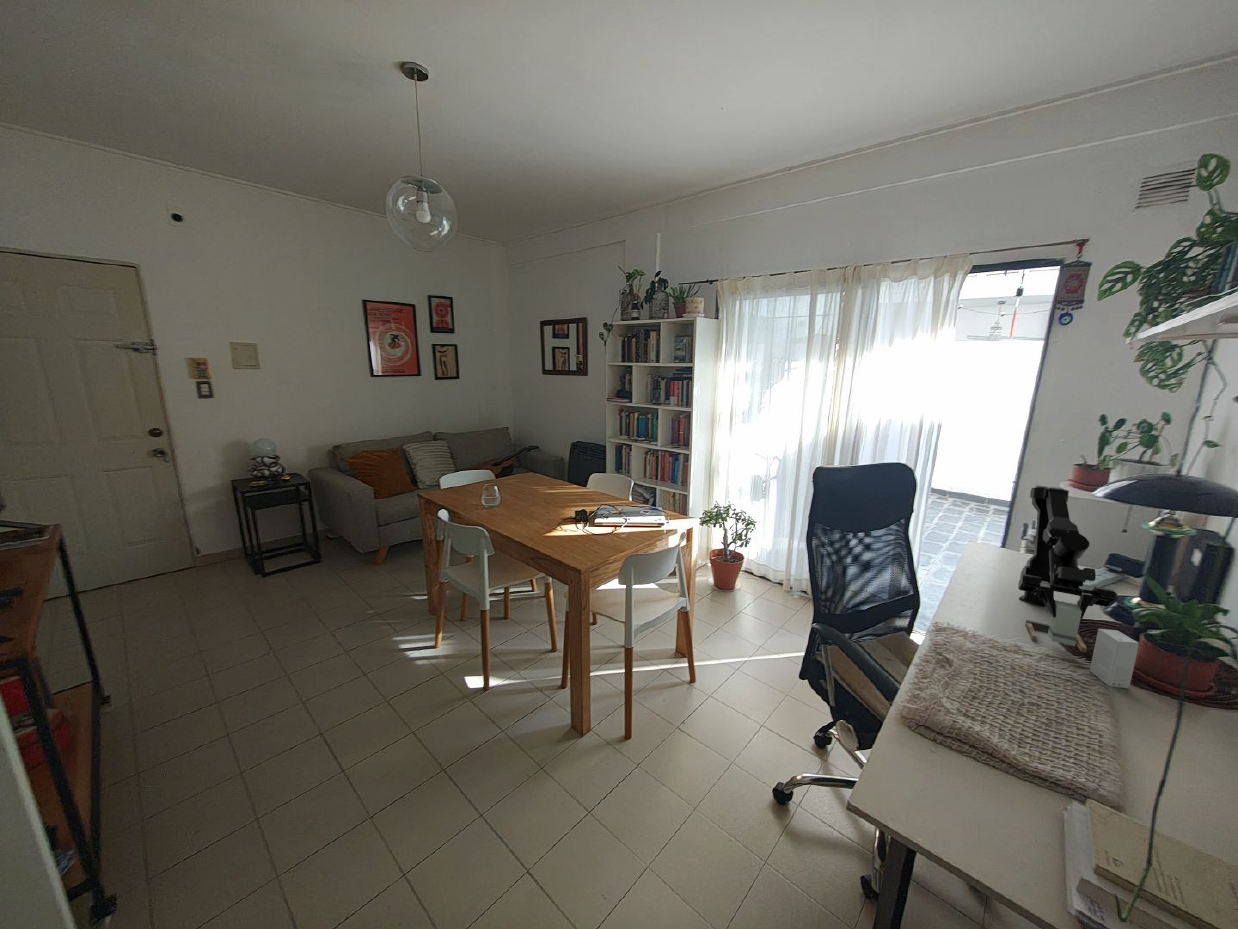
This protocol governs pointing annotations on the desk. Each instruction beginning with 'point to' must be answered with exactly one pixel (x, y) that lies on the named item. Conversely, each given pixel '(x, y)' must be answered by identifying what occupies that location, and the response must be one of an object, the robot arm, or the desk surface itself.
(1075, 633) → the block
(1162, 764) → the desk surface
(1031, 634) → the walnut guide
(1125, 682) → the skincare box
